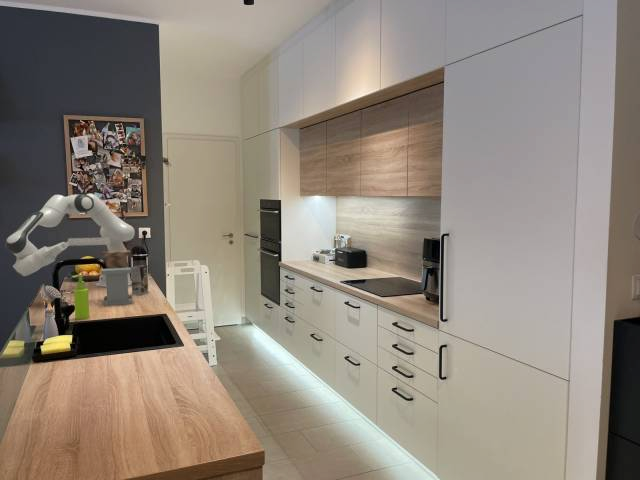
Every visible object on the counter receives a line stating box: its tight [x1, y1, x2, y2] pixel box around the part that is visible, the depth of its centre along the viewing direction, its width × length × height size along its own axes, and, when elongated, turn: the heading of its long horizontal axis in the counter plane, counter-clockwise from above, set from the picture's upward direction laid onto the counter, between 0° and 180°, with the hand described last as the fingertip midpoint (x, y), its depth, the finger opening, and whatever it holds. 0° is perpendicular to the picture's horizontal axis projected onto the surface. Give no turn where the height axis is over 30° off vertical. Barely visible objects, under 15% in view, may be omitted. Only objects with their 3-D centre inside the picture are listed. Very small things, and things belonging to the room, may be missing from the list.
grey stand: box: [100, 267, 133, 307], centre depth 260 cm, size 14×8×18 cm, turn 110°
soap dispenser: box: [71, 274, 90, 320], centre depth 229 cm, size 6×7×20 cm
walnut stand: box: [101, 249, 133, 300], centre depth 270 cm, size 14×8×26 cm, turn 110°
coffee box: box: [130, 264, 149, 296], centre depth 286 cm, size 9×6×16 cm
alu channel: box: [67, 237, 110, 247], centre depth 264 cm, size 20×4×4 cm, turn 111°
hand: (72, 241), depth 261 cm, fingers closed on alu channel, 4 cm apart
